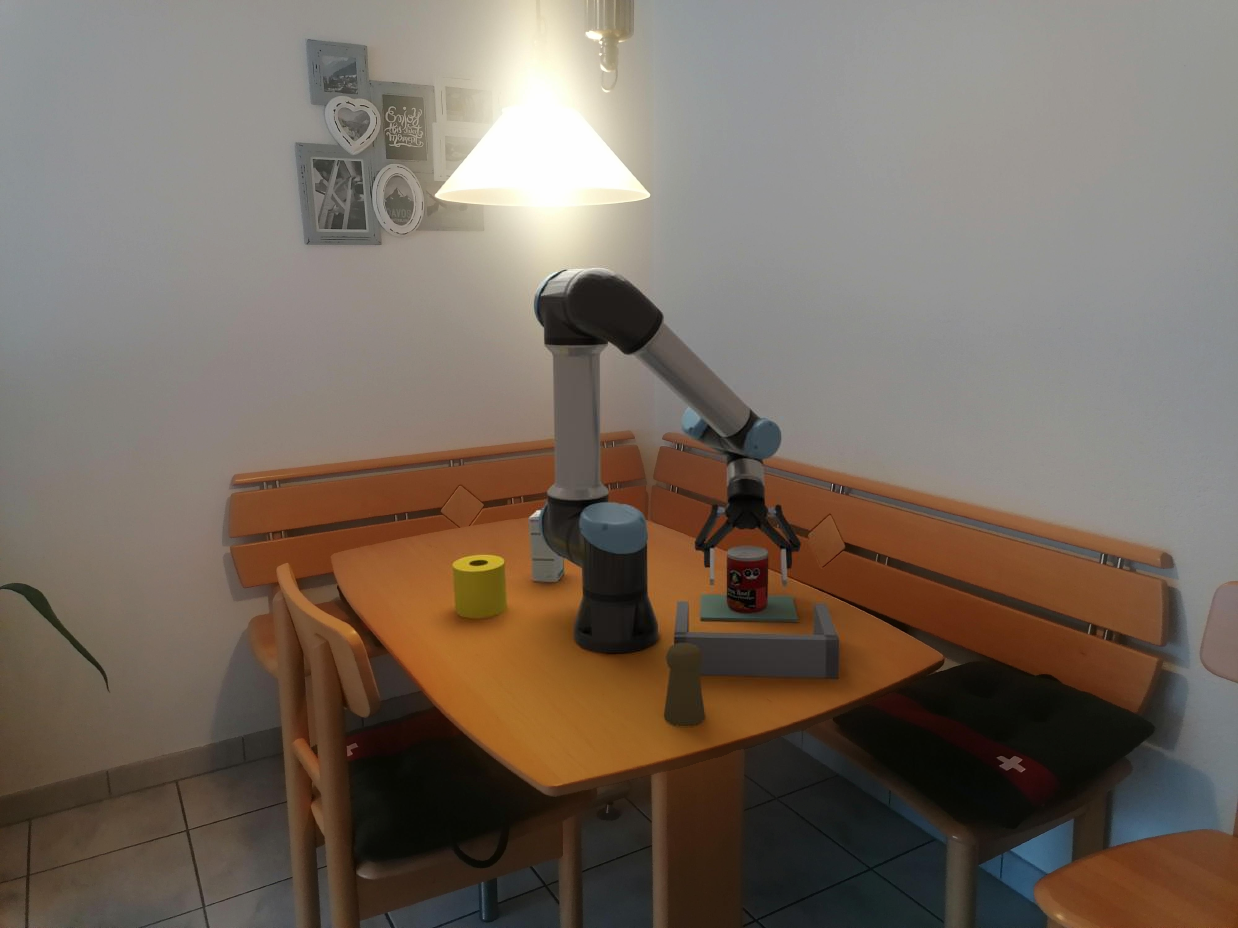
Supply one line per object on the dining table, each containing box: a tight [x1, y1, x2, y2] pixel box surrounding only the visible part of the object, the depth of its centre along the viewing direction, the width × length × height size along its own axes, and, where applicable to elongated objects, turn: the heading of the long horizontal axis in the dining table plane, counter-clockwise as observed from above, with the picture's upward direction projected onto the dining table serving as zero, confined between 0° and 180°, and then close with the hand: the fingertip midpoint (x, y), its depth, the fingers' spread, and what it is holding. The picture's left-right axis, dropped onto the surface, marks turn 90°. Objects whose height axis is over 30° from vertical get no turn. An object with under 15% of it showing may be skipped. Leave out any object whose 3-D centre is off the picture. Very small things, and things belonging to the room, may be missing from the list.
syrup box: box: [528, 509, 565, 583], centre depth 183 cm, size 6×6×14 cm
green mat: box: [699, 593, 799, 623], centre depth 164 cm, size 18×12×1 cm, turn 84°
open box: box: [673, 600, 840, 679], centre depth 143 cm, size 26×16×6 cm, turn 84°
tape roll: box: [452, 554, 508, 619], centre depth 167 cm, size 10×10×9 cm
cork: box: [663, 643, 706, 727], centre depth 123 cm, size 6×6×11 cm
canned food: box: [726, 545, 770, 613], centre depth 163 cm, size 8×8×11 cm
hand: (748, 582), depth 161 cm, fingers open, 13 cm apart
